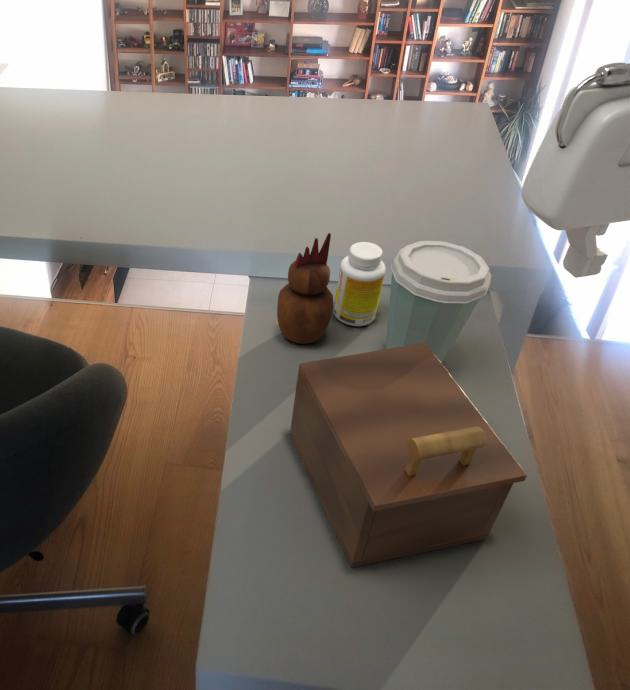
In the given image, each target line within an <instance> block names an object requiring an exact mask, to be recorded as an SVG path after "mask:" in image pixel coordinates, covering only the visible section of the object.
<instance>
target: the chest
mask: <svg viewBox="0 0 630 690" xmlns="http://www.w3.org/2000/svg"><path fill="white" fill-rule="evenodd" d="M289 437H290V439H291V441H292V443H293V446H294V448H295V450H296V452H297V454H298V457H299V458H300V461H301V463H302V465H303V467H304V470H305V471H306V473H307V476H308V478H309V480H310V482H311V485H312V487H313V489H314V491H315V493H316V495H317V497H318V499H319V502H320V504H321V506H322V508H323V511H324V513H325V515H326V517H327V519H328V521H329V524H330V525H331V528H332V530H333V532H334V534H335V537H336V539H337V540H338V543H339V545H340V547H341V549H342V552H343V553H344V556H345V558H346V560H347V562H348V564H349V567H350V568H357V567H361V566H366V565H370V564H371V565H372V564H376V563H380V562H385V561H390V560H394V559H400V558H403V557H408V556H412V555H417V554H422V553H427V552H432V551H437V550H441V549H445V548H446V549H447V548H451V547H455V546H459V545H464V544H468V543H469V544H470V543H473V542H478V541H482V540H487V539H488V537H489V534H490V533H491V531H492V529H493V527H494V525H495V522H496V520H497V518H498V517H499V514H500V512H501V511H502V508H503V506H504V504H505V502H506V500H507V498H508V496H509V494H510V491H511V489H512V487H513V485H514V483H511V484H506V485H502V486H497V487H492V488H487V489H482V490H477V491H472V492H467V493H462V494H457V495H452V496H447V497H442V498H437V499H432V500H427V501H422V502H418V503H413V504H408V505H403V506H398V507H393V508H388V509H383V510H378V511H373V509H372V507H371V506H370V504H369V502H368V500H367V498H366V496H365V494H364V492H363V490H362V488H361V487H360V485H359V483H358V481H357V479H356V477H355V475H354V473H353V471H352V469H351V468H350V466H349V464H348V462H347V460H346V458H345V456H344V454H343V452H342V450H341V449H340V447H339V445H338V443H337V441H336V439H335V437H334V435H333V433H332V431H331V430H330V428H329V426H328V424H327V422H326V420H325V418H324V416H323V414H322V412H321V411H320V409H319V407H318V405H317V403H316V401H315V399H314V397H313V395H312V393H311V392H310V390H309V388H308V386H307V384H306V382H305V380H304V378H303V376H302V374H301V373H300V371H299V369H298V371H297V378H296V387H295V394H294V401H293V408H292V417H291V423H290V431H289Z"/></svg>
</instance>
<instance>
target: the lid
mask: <svg viewBox="0 0 630 690" xmlns="http://www.w3.org/2000/svg"><path fill="white" fill-rule="evenodd" d="M298 370H299V371H300V373H301V374H302V376H303V378H304V380H305V382H306V384H307V386H308V388H309V390H310V392H311V393H312V395H313V397H314V399H315V401H316V403H317V405H318V407H319V409H320V411H321V412H322V414H323V416H324V418H325V420H326V422H327V424H328V426H329V428H330V430H331V431H332V433H333V435H334V437H335V439H336V441H337V443H338V445H339V447H340V449H341V450H342V452H343V454H344V456H345V458H346V460H347V462H348V464H349V466H350V468H351V469H352V471H353V473H354V475H355V477H356V479H357V481H358V483H359V485H360V487H361V488H362V490H363V492H364V494H365V496H366V498H367V500H368V502H369V504H370V506H371V507H372V509H373V511H378V510H383V509H388V508H393V507H398V506H403V505H408V504H413V503H418V502H422V501H427V500H432V499H437V498H442V497H447V496H452V495H457V494H462V493H467V492H472V491H477V490H482V489H487V488H492V487H497V486H502V485H506V484H511V483H513V484H515V483H521V482H525V481H526V479H527V476H528V474H527V473H526V472H525V470H524V469H523V468H522V466H521V465H520V463H518V461H517V459H515V457H514V455H512V453H511V452H510V450H508V448H507V447H506V445H505V444H504V443H503V441H502V440H501V439H500V437H499V436H498V435H497V434H496V432H495V431H494V430H493V428H492V427H491V425H490V424H489V423H488V422H487V421H486V419H485V418H484V417H483V415H482V414H481V413H480V411H479V410H478V409H477V407H475V405H474V404H473V402H472V401H471V400H470V398H469V397H468V396H467V395H466V393H465V392H464V391H463V389H462V388H461V386H460V385H459V384H458V383H457V381H456V380H455V379H454V377H453V376H452V375H451V373H450V372H449V371H448V369H447V368H446V367H445V366H444V364H443V362H442V363H441V362H440V361H439V359H438V358H437V357H436V355H435V354H434V353H433V351H432V350H431V349H430V347H429V346H428V345H427V344H426V343H421V344H415V345H409V346H403V347H397V348H391V349H386V348H385V349H380V350H379V349H378V350H373V351H367V352H362V353H355V354H349V355H343V356H338V357H337V356H336V357H331V358H324V359H319V360H313V361H307V362H302V363H301V362H300V363H299V364H298Z"/></svg>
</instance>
